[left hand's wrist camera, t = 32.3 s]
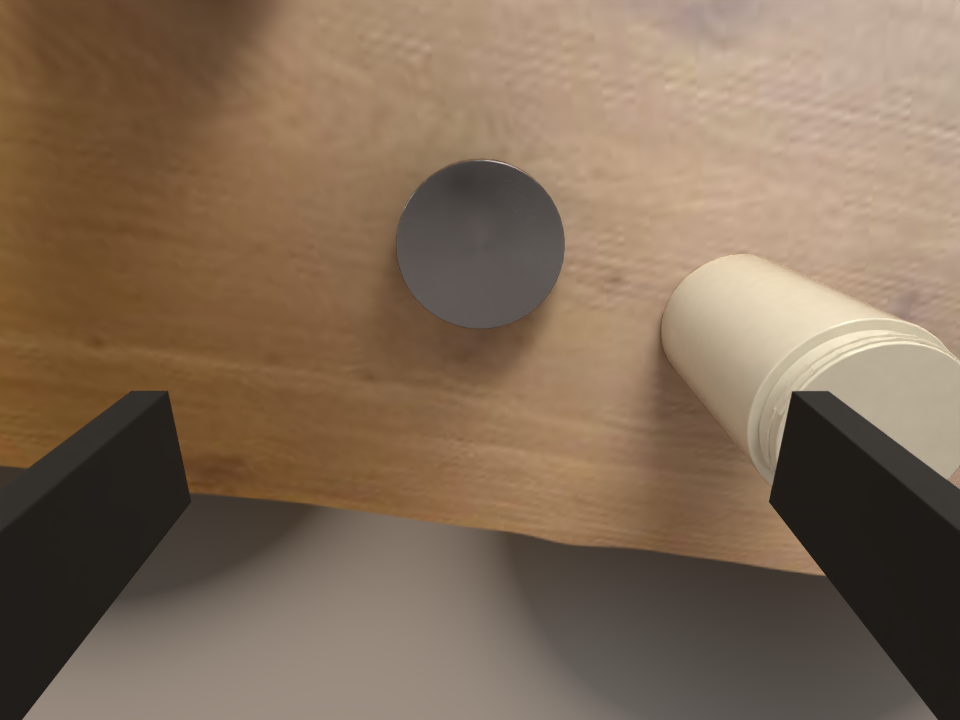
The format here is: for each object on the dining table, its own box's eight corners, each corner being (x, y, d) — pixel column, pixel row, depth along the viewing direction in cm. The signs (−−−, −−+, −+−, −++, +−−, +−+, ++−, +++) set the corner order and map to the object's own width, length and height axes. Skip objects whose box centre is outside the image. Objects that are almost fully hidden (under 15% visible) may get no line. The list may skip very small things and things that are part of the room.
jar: (831, 283, 38) (1042, 376, 24) (757, 406, 41) (904, 553, 27) (702, 232, 37) (843, 297, 23) (636, 362, 40) (723, 492, 26)
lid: (483, 120, 35) (483, 120, 33) (593, 245, 37) (599, 251, 35) (366, 240, 37) (361, 245, 35) (477, 349, 40) (477, 360, 38)
